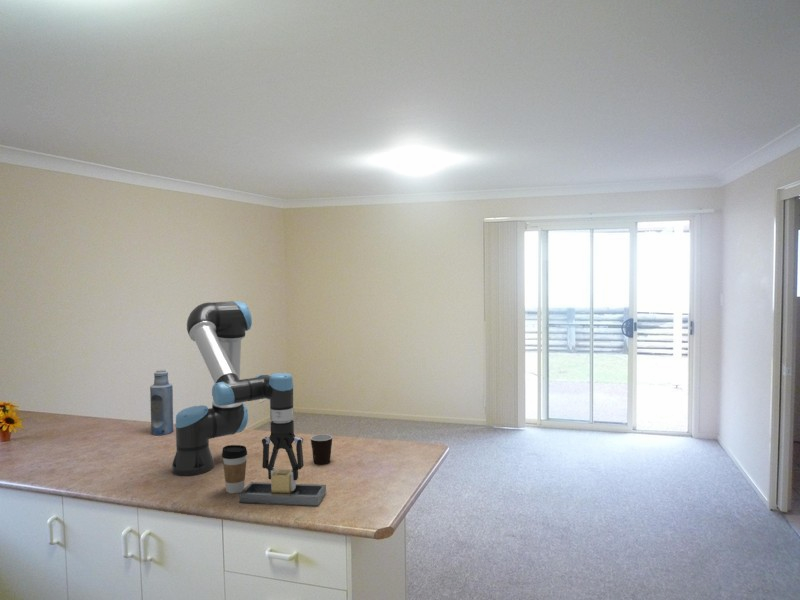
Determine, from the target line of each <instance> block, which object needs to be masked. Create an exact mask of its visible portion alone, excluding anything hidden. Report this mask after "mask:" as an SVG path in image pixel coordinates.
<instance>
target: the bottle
mask: <svg viewBox="0 0 800 600" xmlns="http://www.w3.org/2000/svg"><path fill="white" fill-rule="evenodd" d="M153 376H154V380H153V384H152V385H150V387H149V389H150V391H149V392H150V394H149V395H150V396H149V398H150V400H149V401H150V421H151V422H150V423H151V424H150V427H151V428H150V429H151V433H150V434H151V435H153V436H163V435H164V436H165V435H169V434H171V433H173V432H174V406H173V405H174V398H173V396H174V395H173V392H174V391H173V384H172V383H170V382H169V372H168V371H167V370H166V369H157V370H156V371H155V372H154V373H153Z"/></svg>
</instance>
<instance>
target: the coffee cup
mask: <svg viewBox="0 0 800 600" xmlns="http://www.w3.org/2000/svg"><path fill="white" fill-rule="evenodd" d="M247 455H248V451H247V447H246V446H245V445H240V444H229V445H226V446H223V447H222V452H221V457H222V459H223V462H222V464H223V465H222V466H223V473H224V481H225V489H226V493H228V494H238V493H240V492H242V491H243V490H244V489H245V485H246V484H245V482H246V469H247Z"/></svg>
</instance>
